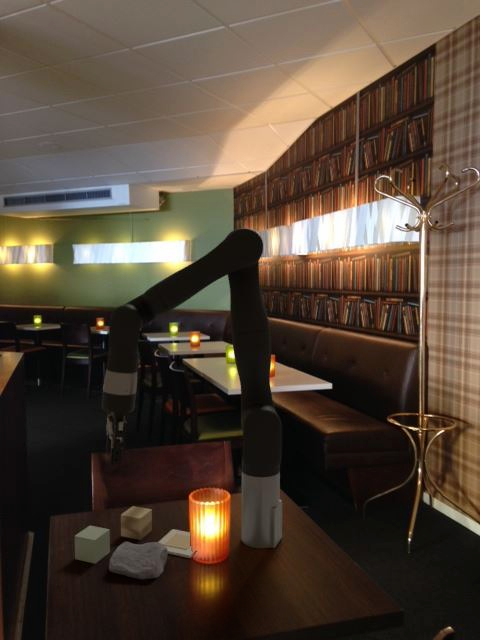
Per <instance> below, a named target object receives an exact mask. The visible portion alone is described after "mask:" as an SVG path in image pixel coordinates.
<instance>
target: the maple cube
mask: <svg viewBox="0 0 480 640" xmlns="http://www.w3.org/2000/svg"><path fill="white" fill-rule="evenodd" d="M152 511H153V510H152V509H151V508H147V507H146V508H145V507H142V506H141V507H140V506H135V505H132V506H131V507H129V508H128V509H127V510H126V511H124V512H122V514H121V513H120V536H121V537H125V538H129V539H133V540H140V541H141V540H143V539H144V538H145V537H146V536H147V535H148V534H149V533H150V532H152V531H153V513H152Z"/></svg>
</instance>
